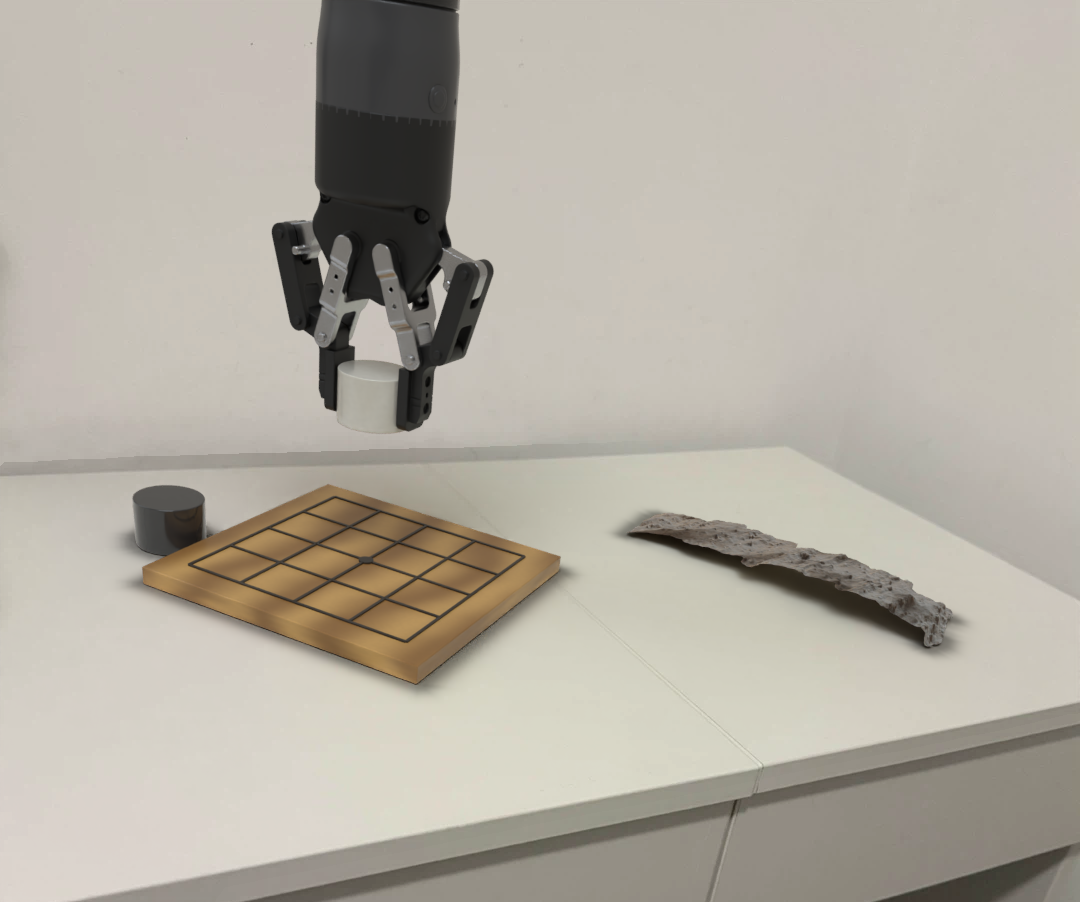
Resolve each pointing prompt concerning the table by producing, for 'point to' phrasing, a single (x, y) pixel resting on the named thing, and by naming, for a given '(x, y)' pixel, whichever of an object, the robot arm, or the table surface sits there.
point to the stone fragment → (808, 566)
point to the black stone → (168, 518)
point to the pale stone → (368, 396)
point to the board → (358, 578)
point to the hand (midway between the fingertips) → (373, 416)
